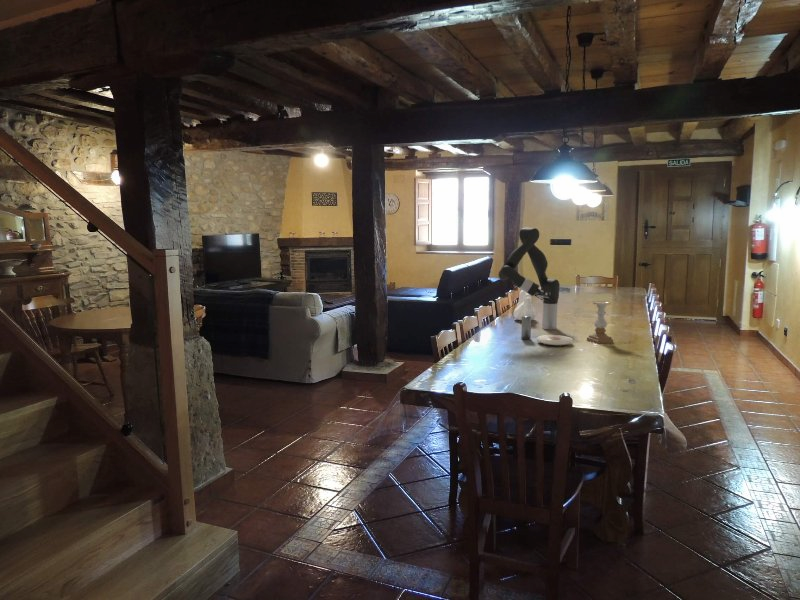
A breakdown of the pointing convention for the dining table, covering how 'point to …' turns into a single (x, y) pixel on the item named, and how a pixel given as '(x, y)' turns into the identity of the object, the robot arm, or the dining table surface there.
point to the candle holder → (600, 325)
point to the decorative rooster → (524, 306)
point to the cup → (526, 328)
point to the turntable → (554, 339)
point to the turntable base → (554, 345)
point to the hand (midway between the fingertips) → (552, 300)
